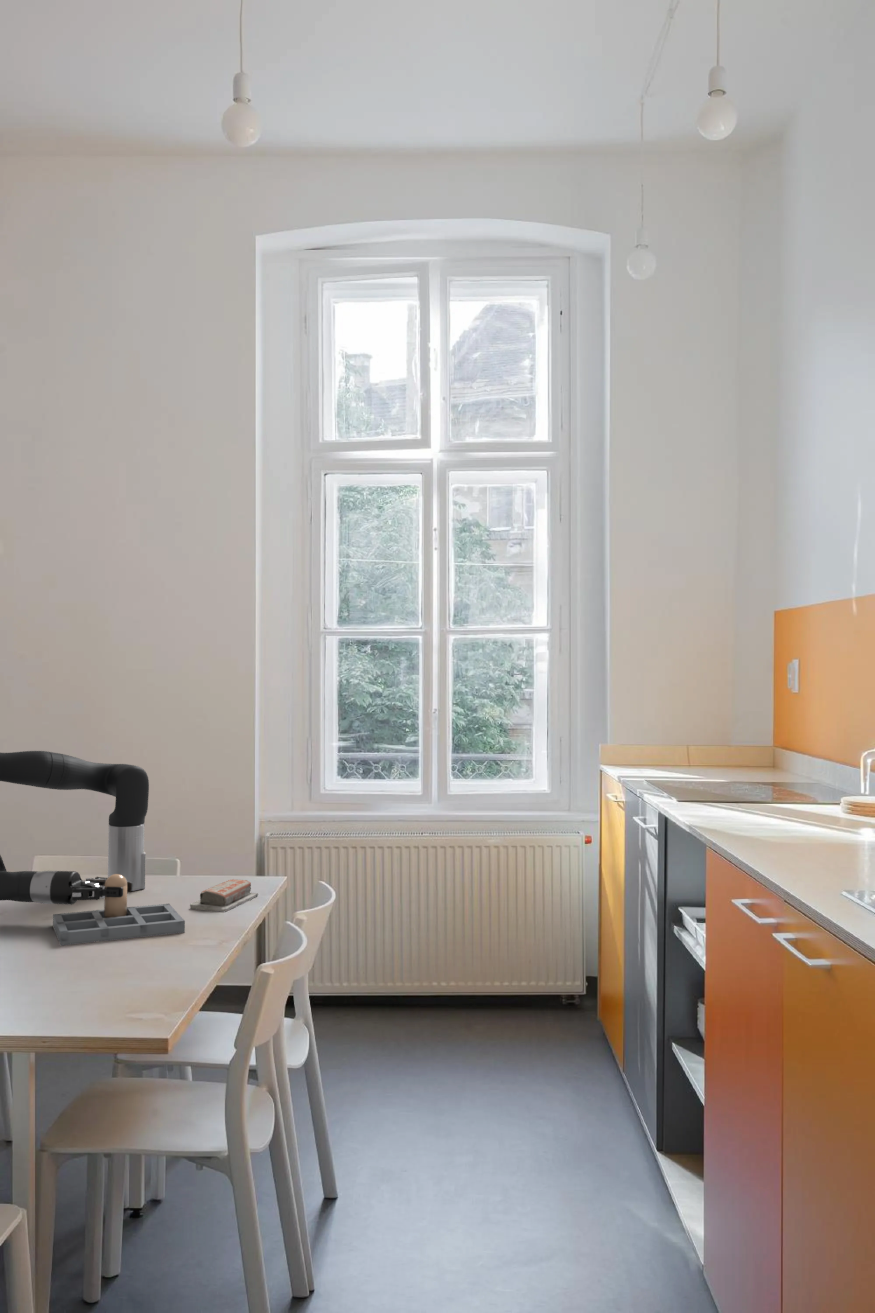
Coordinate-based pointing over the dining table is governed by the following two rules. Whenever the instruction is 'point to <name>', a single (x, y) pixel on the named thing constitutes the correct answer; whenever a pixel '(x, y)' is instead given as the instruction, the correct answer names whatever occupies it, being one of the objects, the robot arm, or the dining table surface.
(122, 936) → the grey compartment tray
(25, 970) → the dining table surface
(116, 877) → the tan domed cylinder
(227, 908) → the packaged product
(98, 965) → the dining table surface
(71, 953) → the dining table surface
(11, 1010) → the dining table surface
